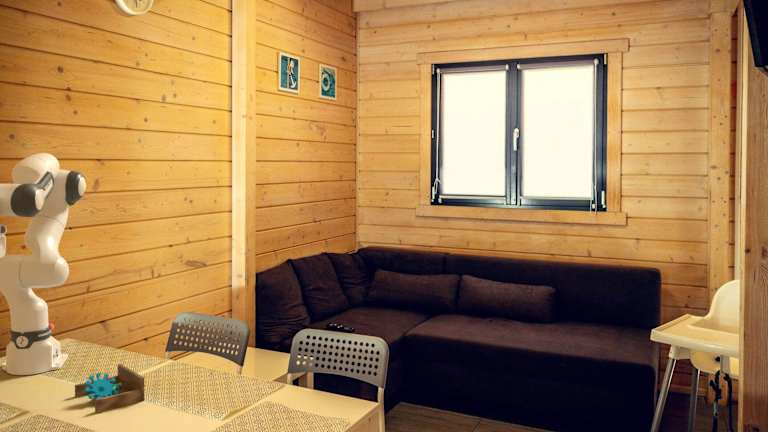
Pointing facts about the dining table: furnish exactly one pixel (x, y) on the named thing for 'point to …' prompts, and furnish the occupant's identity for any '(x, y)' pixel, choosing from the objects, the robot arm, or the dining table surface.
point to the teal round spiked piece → (101, 386)
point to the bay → (133, 393)
